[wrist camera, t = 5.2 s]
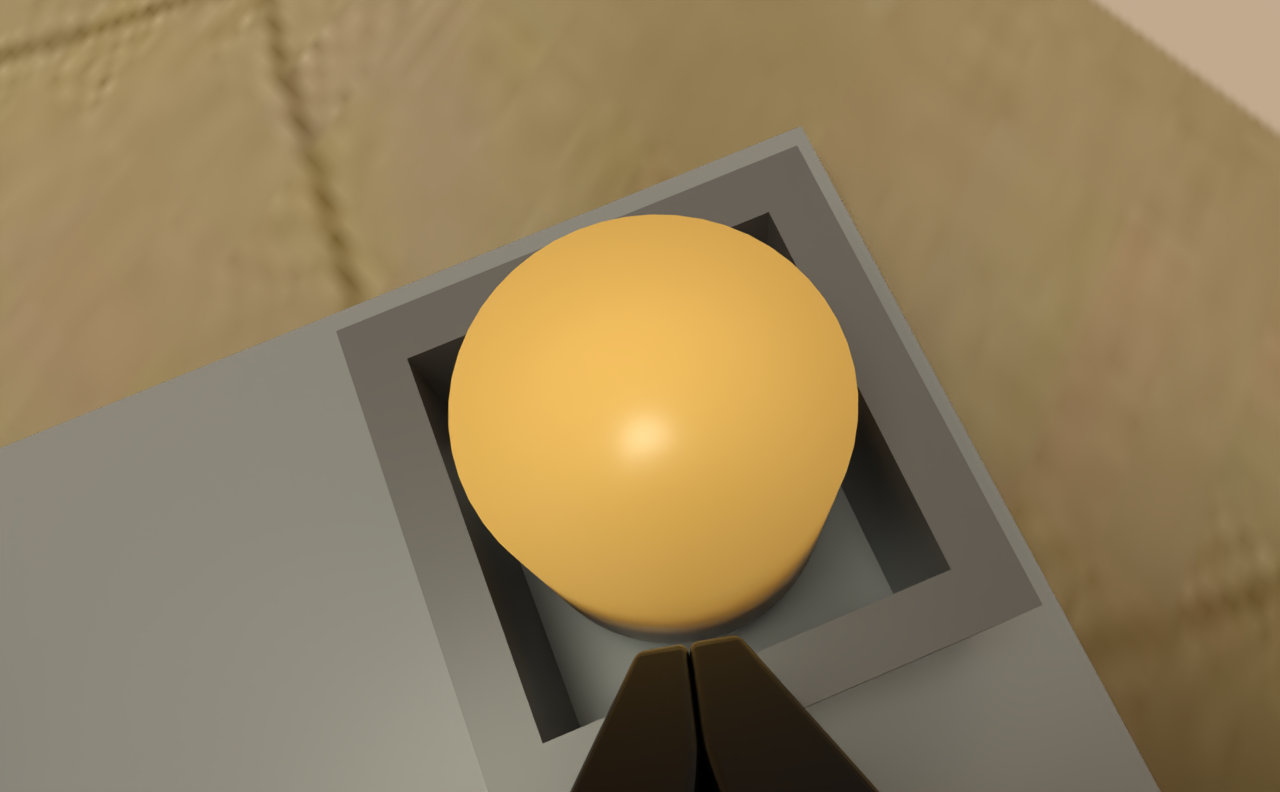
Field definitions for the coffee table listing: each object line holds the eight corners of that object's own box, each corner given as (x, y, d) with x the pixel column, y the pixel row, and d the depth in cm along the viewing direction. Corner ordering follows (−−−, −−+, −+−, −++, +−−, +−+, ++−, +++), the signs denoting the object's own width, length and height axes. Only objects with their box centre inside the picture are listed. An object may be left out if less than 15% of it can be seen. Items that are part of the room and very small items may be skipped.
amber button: (877, 569, 15) (932, 504, 11) (584, 694, 14) (529, 674, 10) (748, 304, 16) (753, 158, 12) (481, 413, 16) (396, 302, 12)
